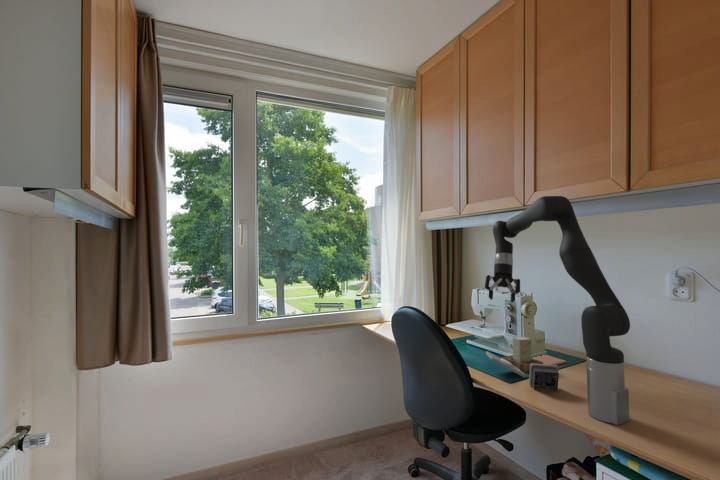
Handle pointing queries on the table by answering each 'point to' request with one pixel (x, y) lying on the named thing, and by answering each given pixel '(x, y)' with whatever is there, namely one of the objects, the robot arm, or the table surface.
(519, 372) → the light switch
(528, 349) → the skincare box
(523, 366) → the frame
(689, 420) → the table surface
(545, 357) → the terracotta mat
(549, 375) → the electrical switch
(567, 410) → the table surface
